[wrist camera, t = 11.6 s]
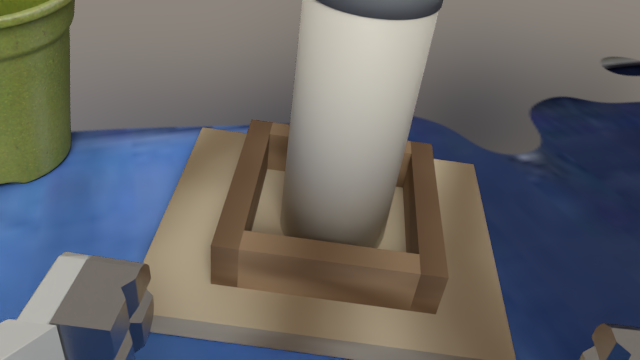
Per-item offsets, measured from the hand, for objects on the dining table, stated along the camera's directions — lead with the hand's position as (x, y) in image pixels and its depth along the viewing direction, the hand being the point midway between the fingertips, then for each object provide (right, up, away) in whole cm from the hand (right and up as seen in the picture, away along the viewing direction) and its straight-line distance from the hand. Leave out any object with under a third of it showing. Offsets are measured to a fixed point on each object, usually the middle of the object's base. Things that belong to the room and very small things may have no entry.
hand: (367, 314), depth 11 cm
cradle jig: (0, 0, +15) cm, 15 cm away
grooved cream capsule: (0, +1, +15) cm, 15 cm away
